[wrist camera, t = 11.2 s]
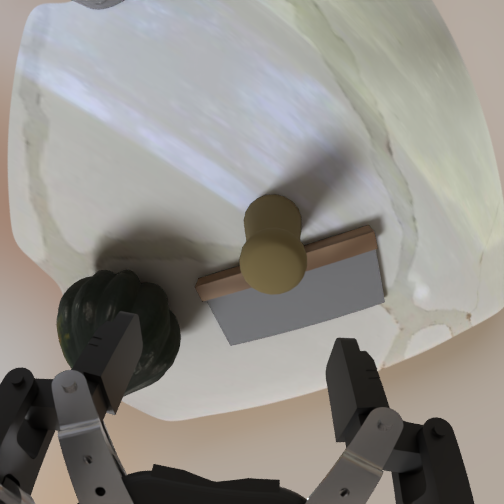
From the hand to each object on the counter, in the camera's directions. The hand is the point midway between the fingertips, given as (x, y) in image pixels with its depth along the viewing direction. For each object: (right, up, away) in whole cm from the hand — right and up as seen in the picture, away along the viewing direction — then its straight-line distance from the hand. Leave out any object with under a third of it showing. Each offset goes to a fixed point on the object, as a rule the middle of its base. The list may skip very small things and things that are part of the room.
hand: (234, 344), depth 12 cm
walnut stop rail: (+4, +3, +22) cm, 23 cm away
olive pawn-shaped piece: (+3, +7, +21) cm, 22 cm away
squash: (-14, -3, +26) cm, 30 cm away
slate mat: (+6, -2, +24) cm, 25 cm away
